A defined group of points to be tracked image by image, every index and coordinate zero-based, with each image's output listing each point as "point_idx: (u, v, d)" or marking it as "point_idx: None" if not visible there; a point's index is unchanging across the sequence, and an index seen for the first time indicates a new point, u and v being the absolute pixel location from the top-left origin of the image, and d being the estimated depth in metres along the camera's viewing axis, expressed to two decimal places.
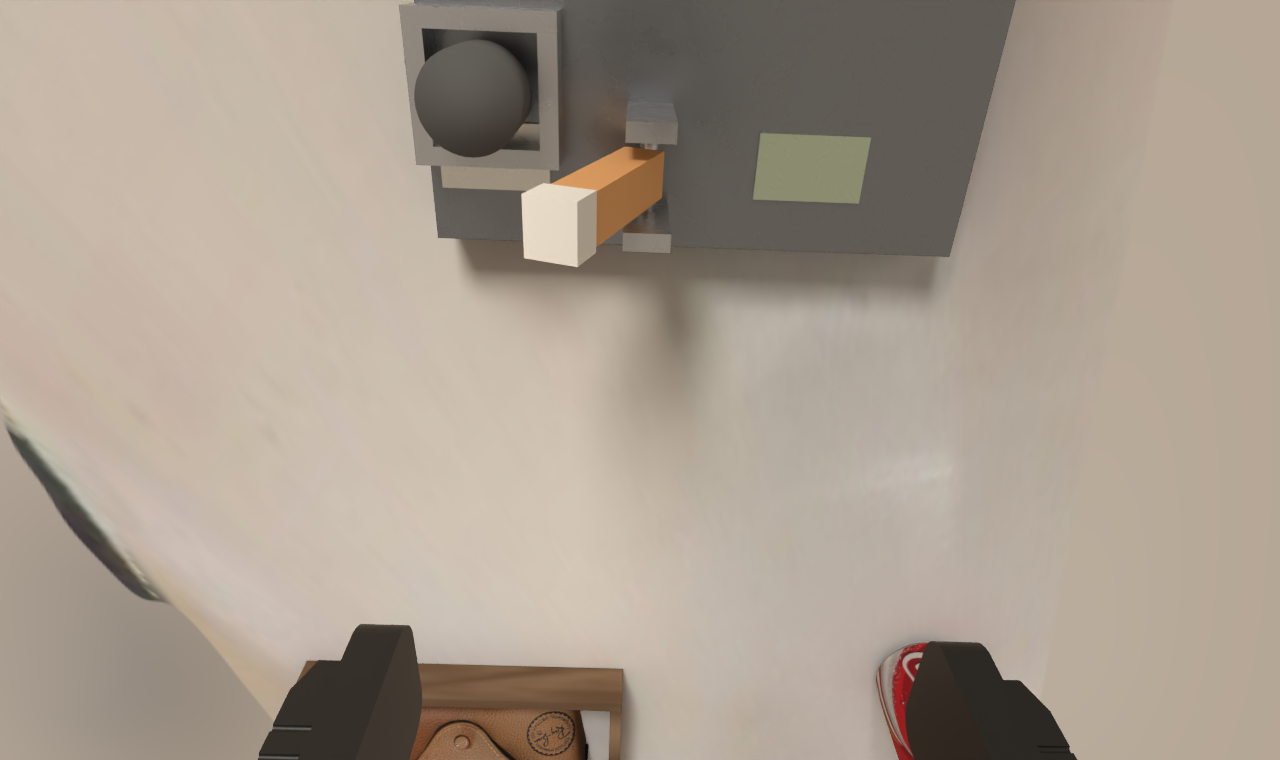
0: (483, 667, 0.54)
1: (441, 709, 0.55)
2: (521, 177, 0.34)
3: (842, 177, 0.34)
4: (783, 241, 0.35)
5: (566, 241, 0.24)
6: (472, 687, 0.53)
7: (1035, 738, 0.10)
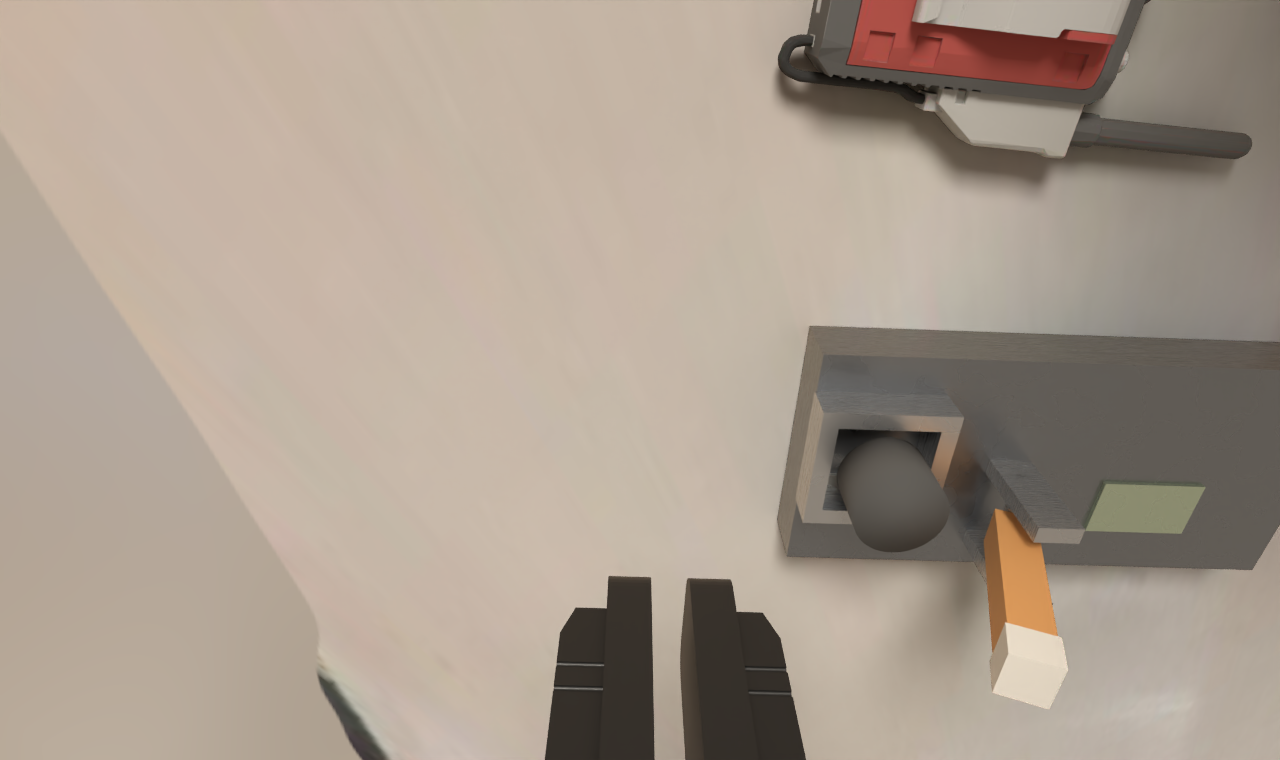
0: None
1: None
2: None
3: (1171, 515, 0.37)
4: (1103, 559, 0.38)
5: (1044, 691, 0.27)
6: None
7: (757, 660, 0.11)
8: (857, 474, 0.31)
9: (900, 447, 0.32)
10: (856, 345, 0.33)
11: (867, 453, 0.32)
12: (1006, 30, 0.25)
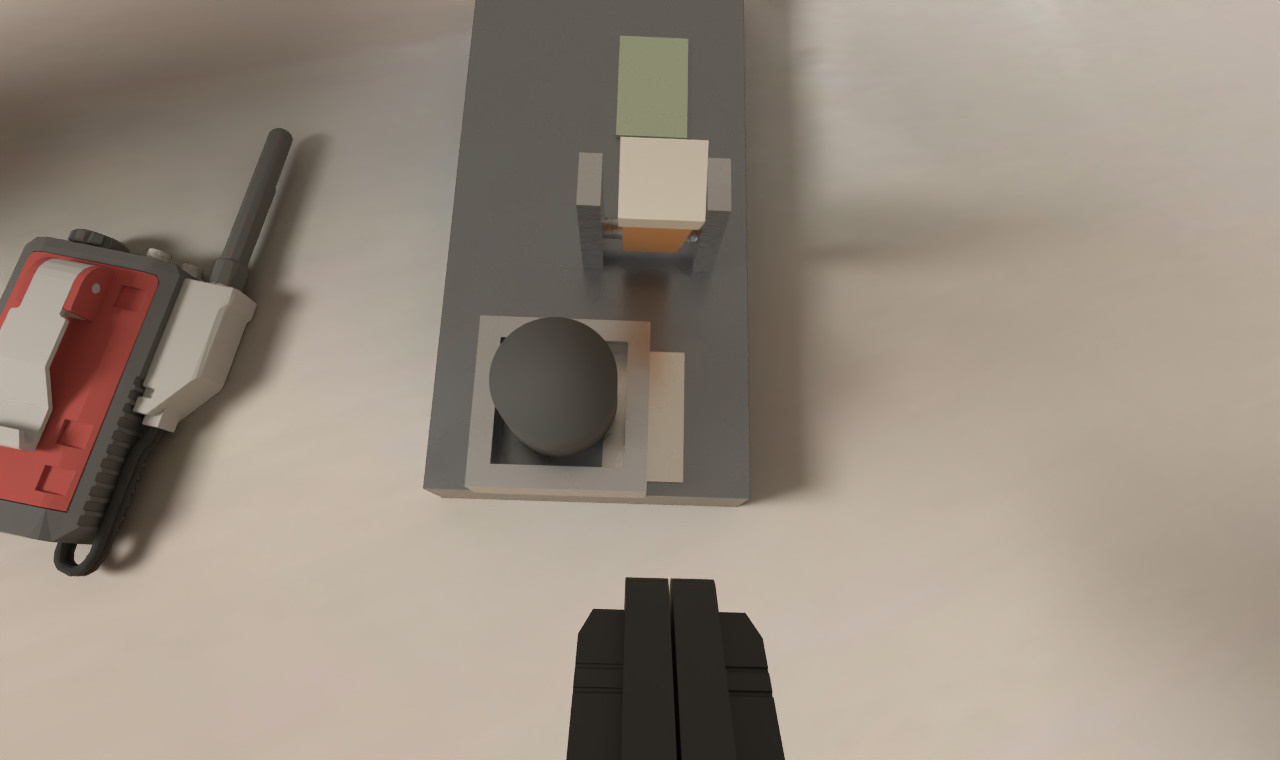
0: None
1: None
2: (668, 384, 0.28)
3: (660, 56, 0.32)
4: (734, 106, 0.31)
5: (674, 155, 0.18)
6: None
7: (738, 660, 0.11)
8: (521, 437, 0.24)
9: None
10: None
11: None
12: (43, 366, 0.26)
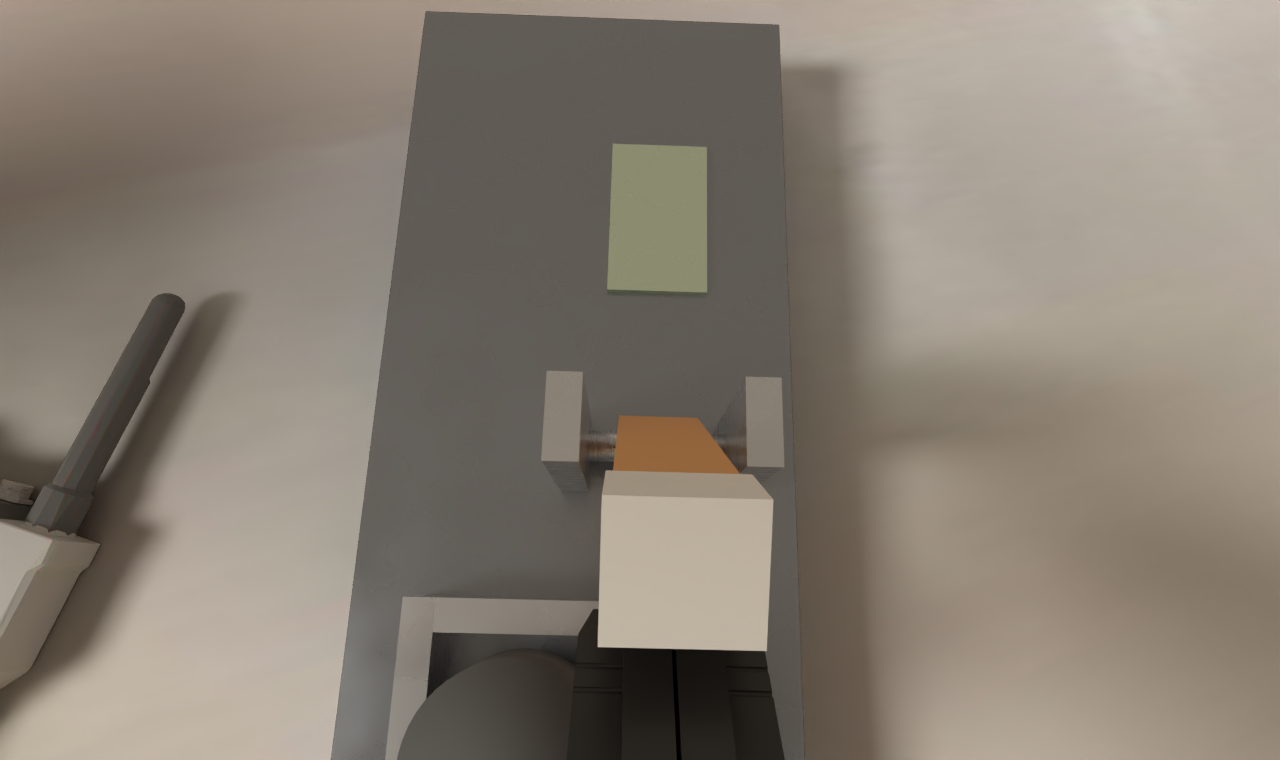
0: None
1: None
2: None
3: (669, 172, 0.23)
4: (771, 244, 0.22)
5: (707, 528, 0.09)
6: None
7: (738, 660, 0.11)
8: None
9: None
10: None
11: None
12: None
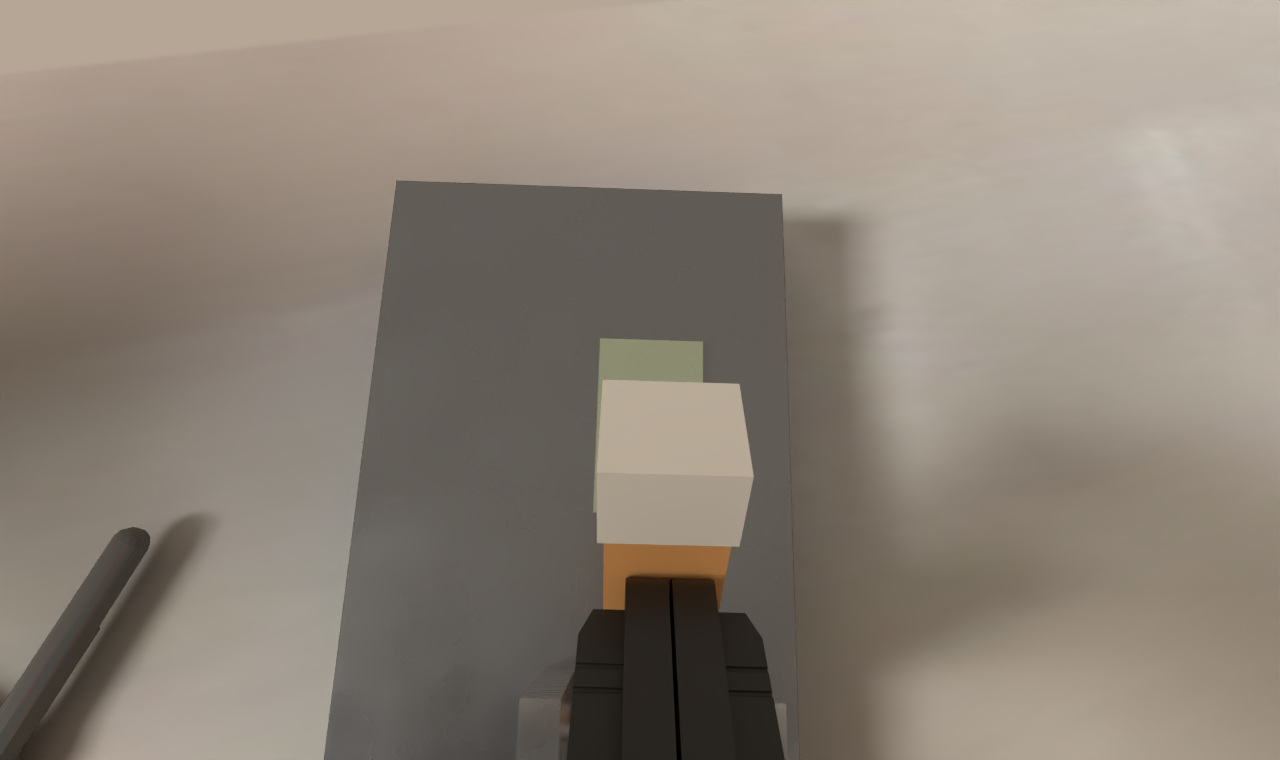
0: None
1: None
2: None
3: (662, 372, 0.21)
4: (773, 454, 0.21)
5: (689, 398, 0.11)
6: None
7: (738, 660, 0.11)
8: None
9: None
10: None
11: None
12: None
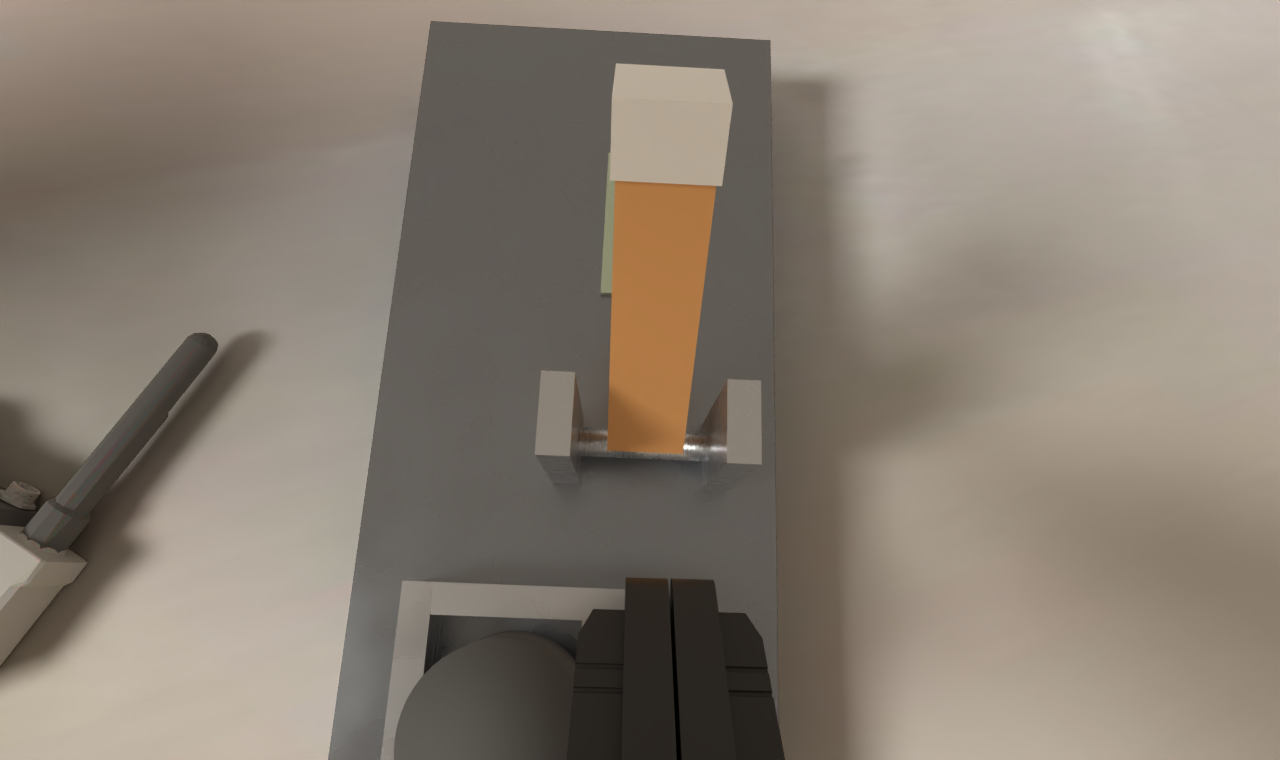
0: None
1: None
2: None
3: None
4: (758, 252, 0.24)
5: (684, 73, 0.14)
6: None
7: (738, 660, 0.11)
8: None
9: None
10: None
11: None
12: None
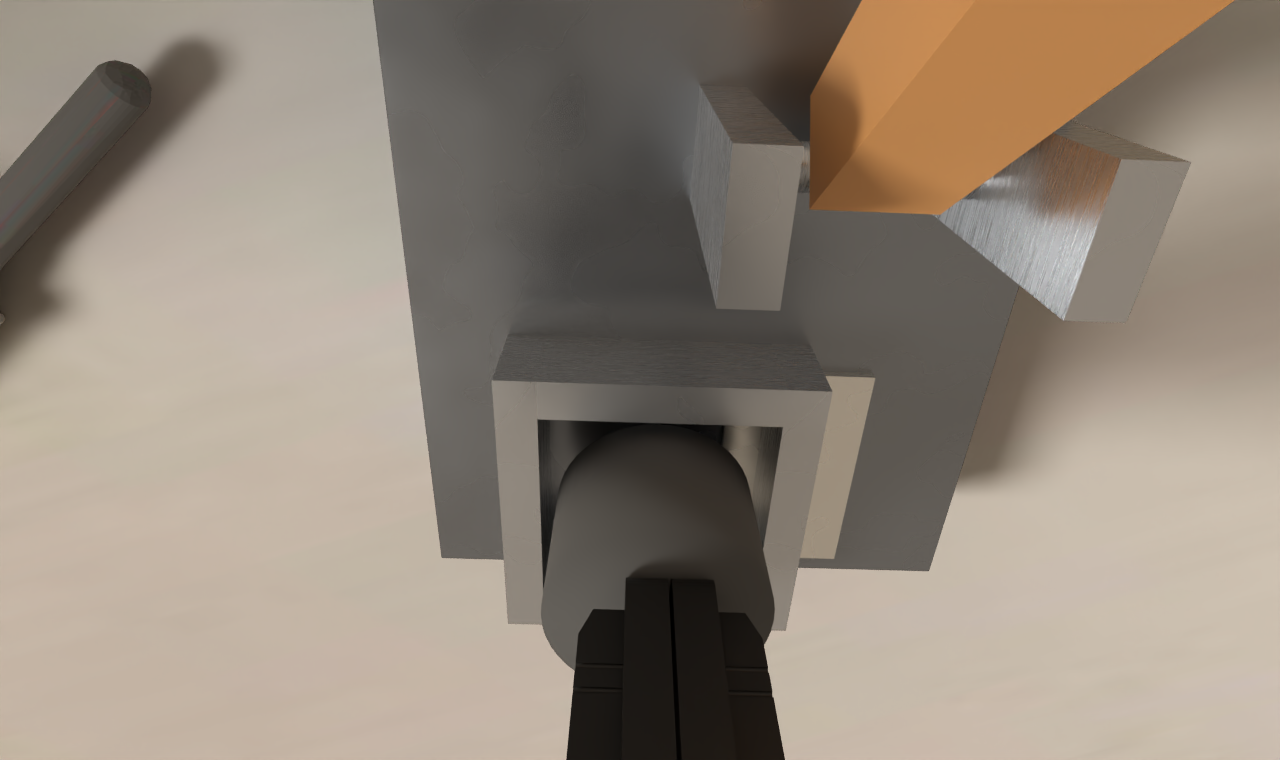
0: None
1: None
2: (835, 430, 0.16)
3: None
4: None
5: None
6: None
7: (738, 660, 0.11)
8: None
9: (555, 515, 0.14)
10: None
11: None
12: None
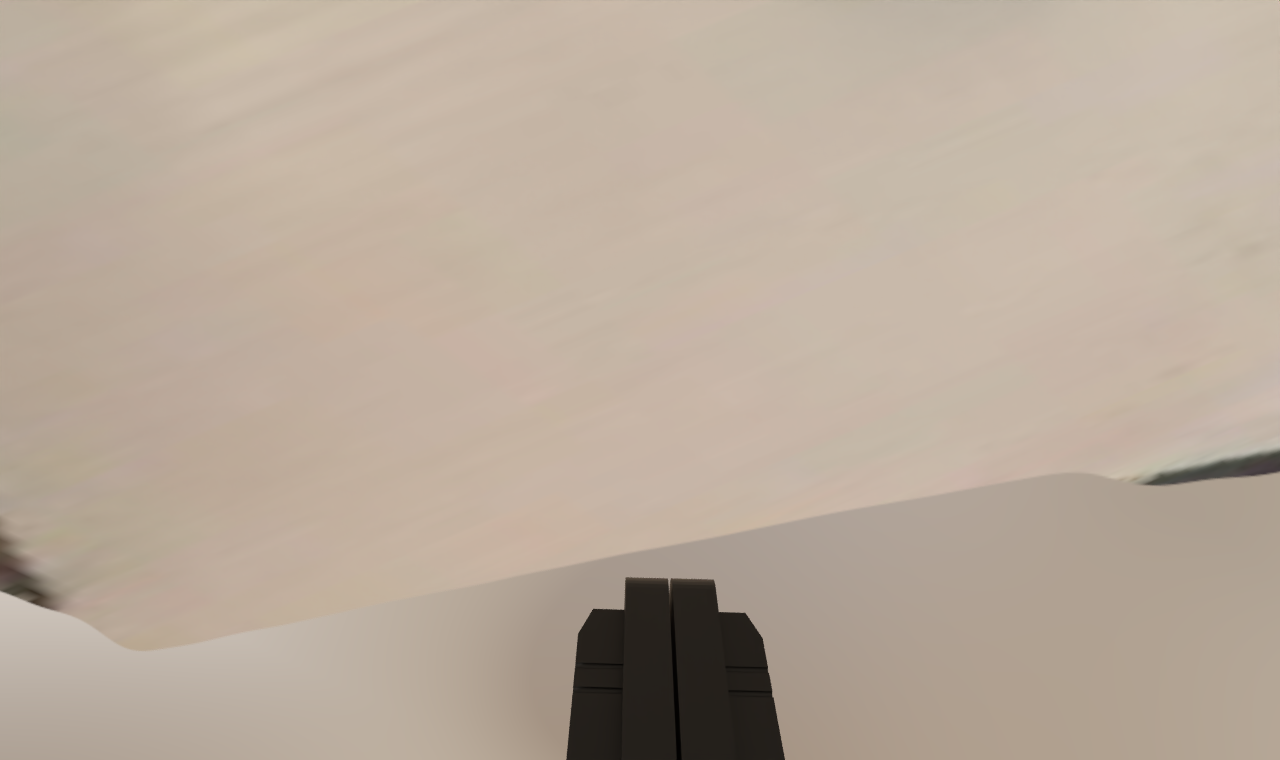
0: None
1: None
2: None
3: None
4: None
5: None
6: None
7: (738, 660, 0.11)
8: None
9: None
10: None
11: None
12: None
